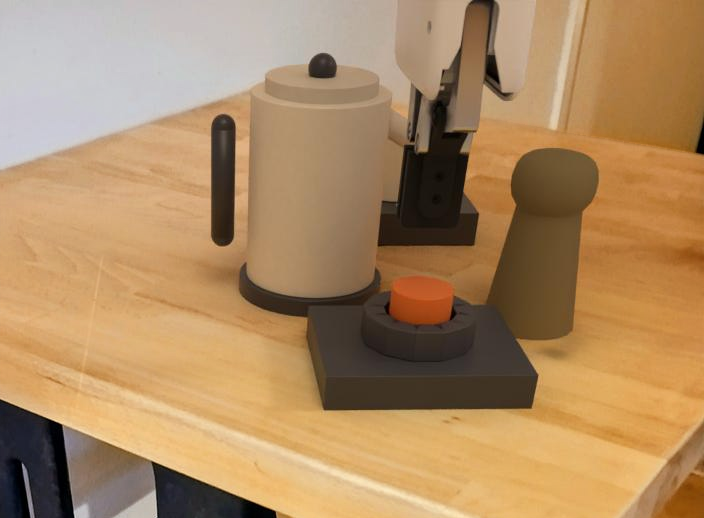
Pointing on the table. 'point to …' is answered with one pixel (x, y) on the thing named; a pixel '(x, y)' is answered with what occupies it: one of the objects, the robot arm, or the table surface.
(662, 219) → the table surface
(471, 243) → the panel
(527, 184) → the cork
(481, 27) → the robot arm
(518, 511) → the table surface
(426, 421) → the table surface
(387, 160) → the knob
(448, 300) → the power button
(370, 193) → the kettle
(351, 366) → the switch block
